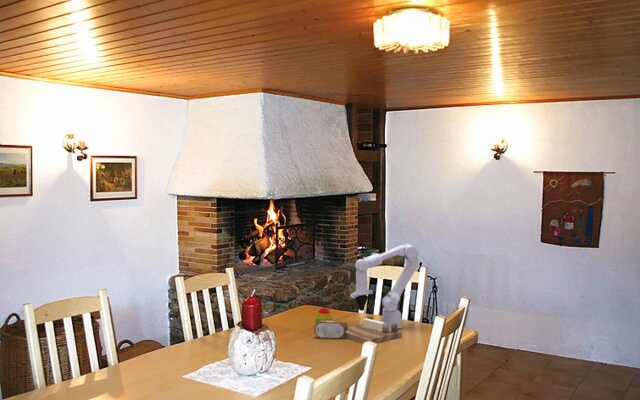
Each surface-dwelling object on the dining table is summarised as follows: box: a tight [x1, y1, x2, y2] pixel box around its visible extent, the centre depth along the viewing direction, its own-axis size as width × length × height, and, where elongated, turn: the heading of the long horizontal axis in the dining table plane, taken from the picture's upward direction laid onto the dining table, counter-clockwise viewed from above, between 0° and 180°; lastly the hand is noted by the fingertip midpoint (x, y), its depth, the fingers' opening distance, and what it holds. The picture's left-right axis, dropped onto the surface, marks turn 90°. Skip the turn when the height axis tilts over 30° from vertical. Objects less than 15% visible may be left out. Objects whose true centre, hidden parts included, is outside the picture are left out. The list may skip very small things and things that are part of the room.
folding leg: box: [362, 317, 389, 333], centre depth 284 cm, size 15×3×4 cm, turn 45°
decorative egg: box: [315, 307, 333, 324], centre depth 299 cm, size 8×8×10 cm
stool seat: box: [341, 316, 403, 345], centre depth 283 cm, size 22×22×6 cm
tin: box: [313, 320, 346, 340], centre depth 280 cm, size 15×3×8 cm, turn 84°
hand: (361, 310), depth 296 cm, fingers closed
